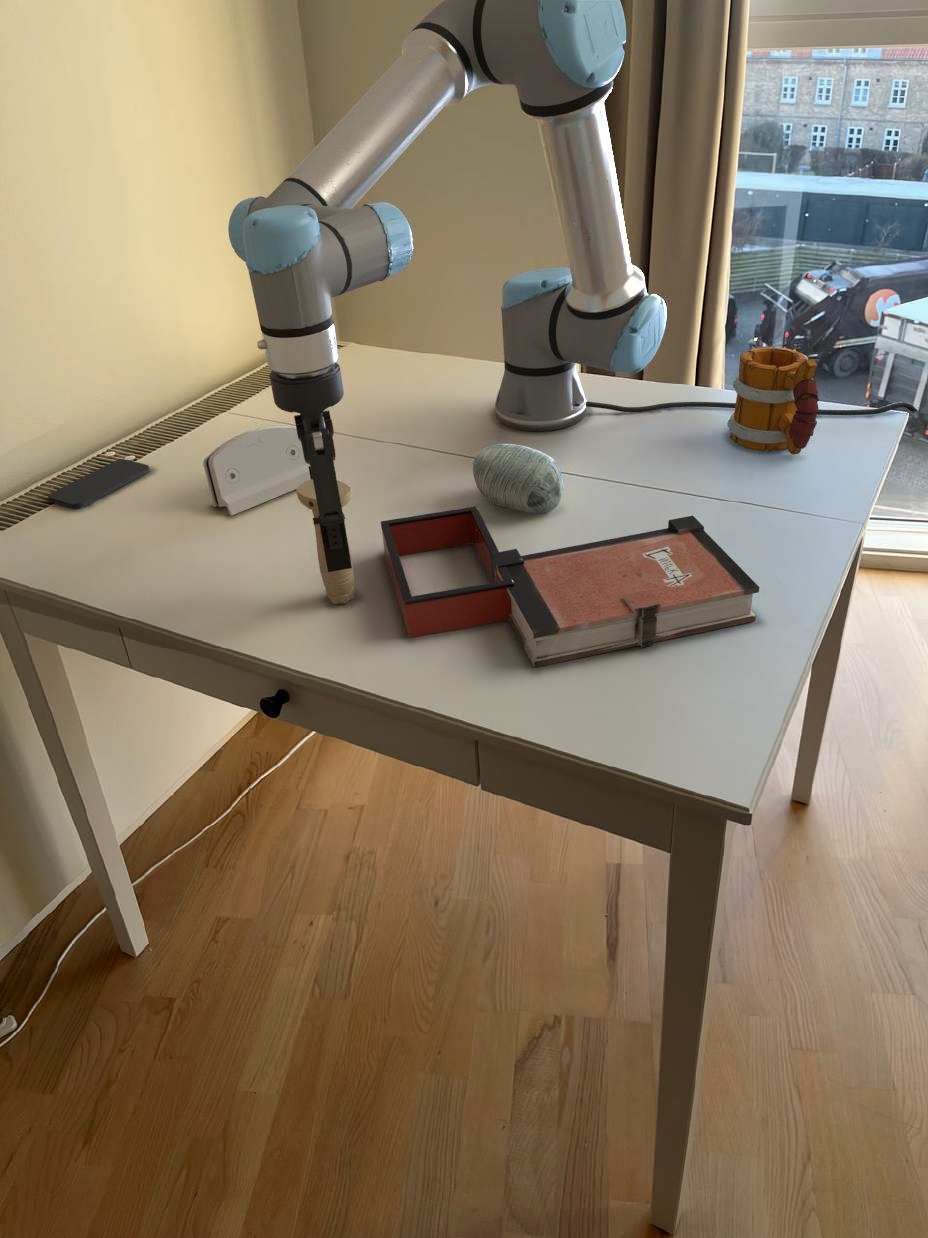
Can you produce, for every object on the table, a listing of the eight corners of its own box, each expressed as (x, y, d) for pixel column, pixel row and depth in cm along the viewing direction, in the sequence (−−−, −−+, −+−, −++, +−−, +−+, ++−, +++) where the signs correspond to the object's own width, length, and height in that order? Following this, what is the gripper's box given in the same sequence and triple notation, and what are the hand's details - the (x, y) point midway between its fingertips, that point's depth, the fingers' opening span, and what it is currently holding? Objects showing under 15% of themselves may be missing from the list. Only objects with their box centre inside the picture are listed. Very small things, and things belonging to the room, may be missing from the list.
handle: (333, 582, 121) (315, 475, 112) (373, 595, 118) (358, 485, 109) (308, 601, 118) (288, 492, 109) (349, 615, 115) (332, 503, 106)
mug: (773, 418, 154) (784, 325, 145) (837, 457, 141) (854, 358, 132) (713, 430, 151) (722, 337, 143) (773, 472, 138) (786, 371, 130)
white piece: (229, 516, 137) (203, 449, 134) (216, 516, 141) (190, 451, 138) (324, 477, 146) (302, 413, 143) (309, 478, 150) (288, 416, 147)
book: (536, 671, 103) (535, 633, 100) (492, 588, 117) (490, 553, 114) (758, 624, 108) (763, 586, 105) (690, 550, 122) (692, 515, 119)
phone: (152, 465, 152) (76, 505, 141) (153, 470, 152) (78, 510, 142) (120, 457, 155) (44, 496, 145) (121, 462, 156) (45, 500, 145)
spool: (587, 480, 132) (552, 429, 126) (551, 532, 130) (514, 483, 124) (520, 474, 143) (485, 427, 137) (486, 523, 140) (448, 476, 134)
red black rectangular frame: (478, 539, 128) (476, 505, 125) (516, 619, 112) (515, 583, 109) (384, 554, 126) (379, 521, 123) (408, 638, 110) (404, 602, 107)
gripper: (263, 334, 111) (294, 497, 123) (274, 415, 91) (310, 601, 103) (327, 326, 112) (352, 488, 124) (352, 403, 92) (379, 588, 104)
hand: (333, 539), depth 113 cm, fingers open, 13 cm apart
